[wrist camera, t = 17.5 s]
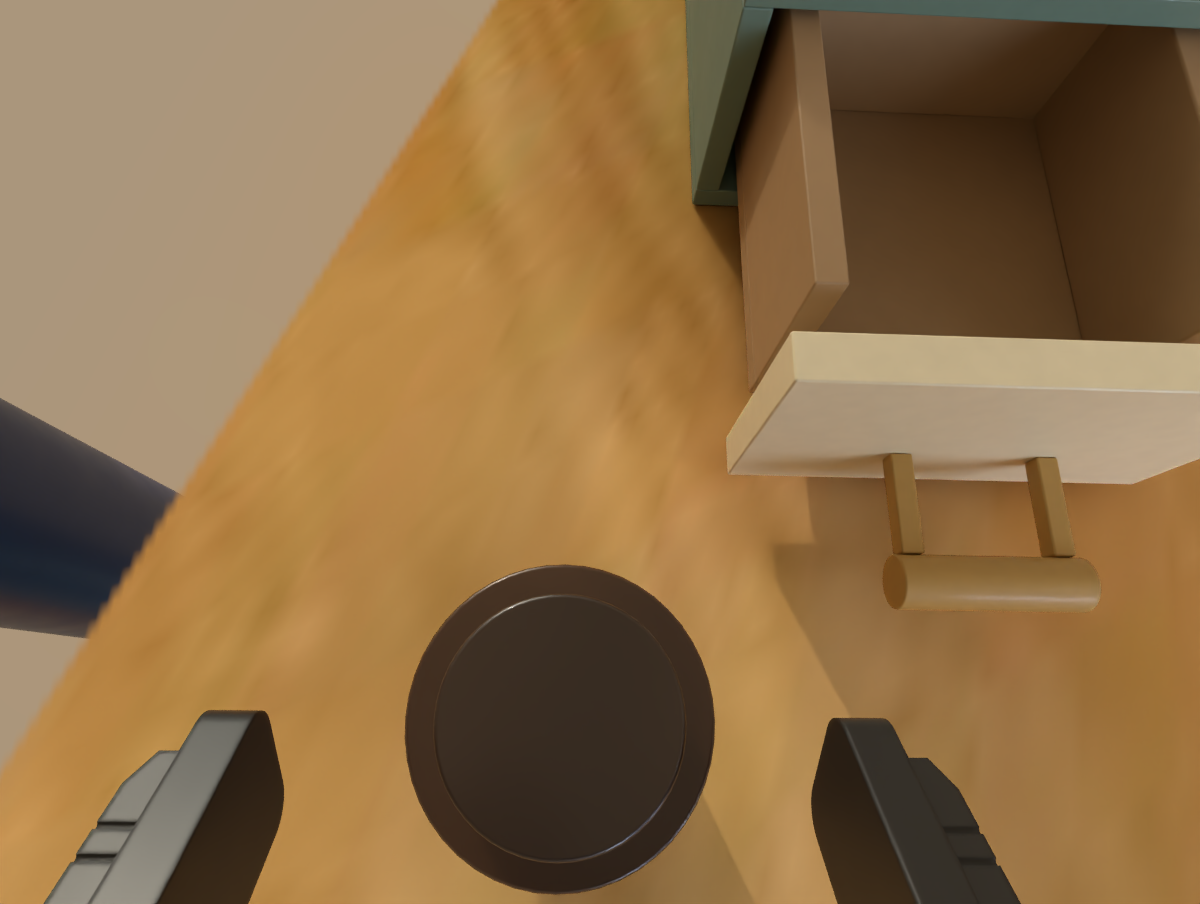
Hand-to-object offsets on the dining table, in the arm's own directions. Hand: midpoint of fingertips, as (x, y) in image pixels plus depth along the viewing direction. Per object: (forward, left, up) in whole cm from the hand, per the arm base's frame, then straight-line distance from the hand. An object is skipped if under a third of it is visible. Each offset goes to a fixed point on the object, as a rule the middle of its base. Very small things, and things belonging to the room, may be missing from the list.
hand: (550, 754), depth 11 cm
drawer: (+11, +12, -9) cm, 19 cm away
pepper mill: (0, 0, -10) cm, 10 cm away
